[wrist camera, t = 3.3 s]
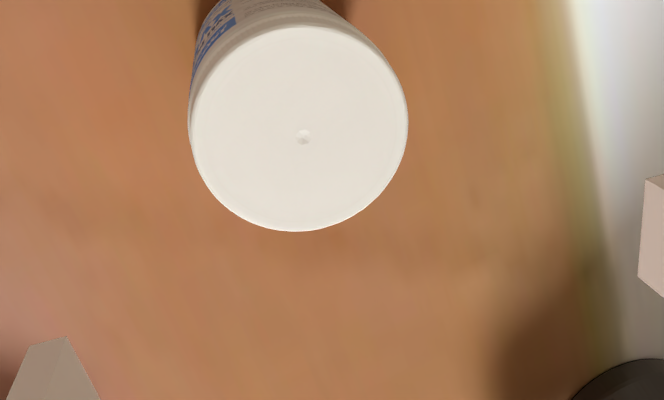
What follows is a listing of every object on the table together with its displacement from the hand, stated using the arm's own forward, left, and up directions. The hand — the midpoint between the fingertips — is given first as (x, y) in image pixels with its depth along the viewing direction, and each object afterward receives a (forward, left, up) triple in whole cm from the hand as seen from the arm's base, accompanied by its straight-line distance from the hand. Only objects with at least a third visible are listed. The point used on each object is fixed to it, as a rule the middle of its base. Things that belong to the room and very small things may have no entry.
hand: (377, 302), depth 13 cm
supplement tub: (0, 0, -27) cm, 27 cm away
